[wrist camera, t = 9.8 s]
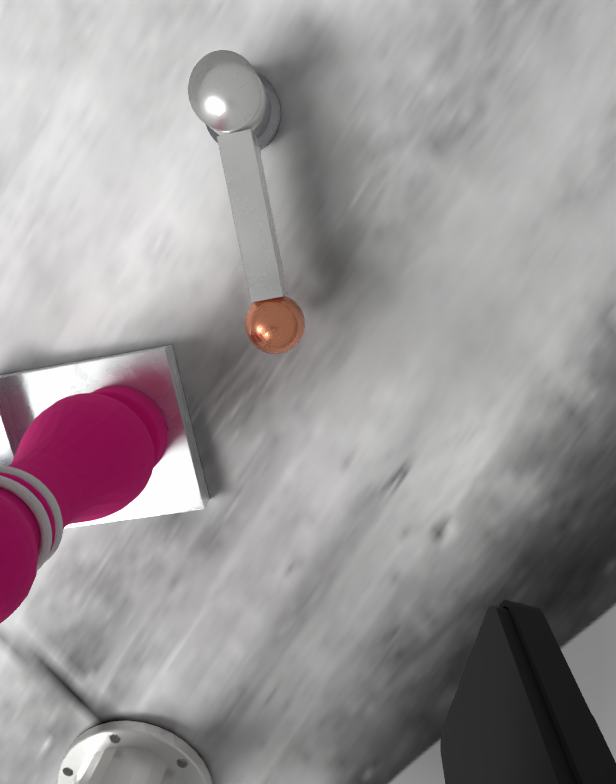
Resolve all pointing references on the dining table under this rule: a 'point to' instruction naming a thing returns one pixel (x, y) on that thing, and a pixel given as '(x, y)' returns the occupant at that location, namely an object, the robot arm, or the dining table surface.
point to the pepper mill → (72, 476)
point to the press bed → (133, 370)
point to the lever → (248, 191)
